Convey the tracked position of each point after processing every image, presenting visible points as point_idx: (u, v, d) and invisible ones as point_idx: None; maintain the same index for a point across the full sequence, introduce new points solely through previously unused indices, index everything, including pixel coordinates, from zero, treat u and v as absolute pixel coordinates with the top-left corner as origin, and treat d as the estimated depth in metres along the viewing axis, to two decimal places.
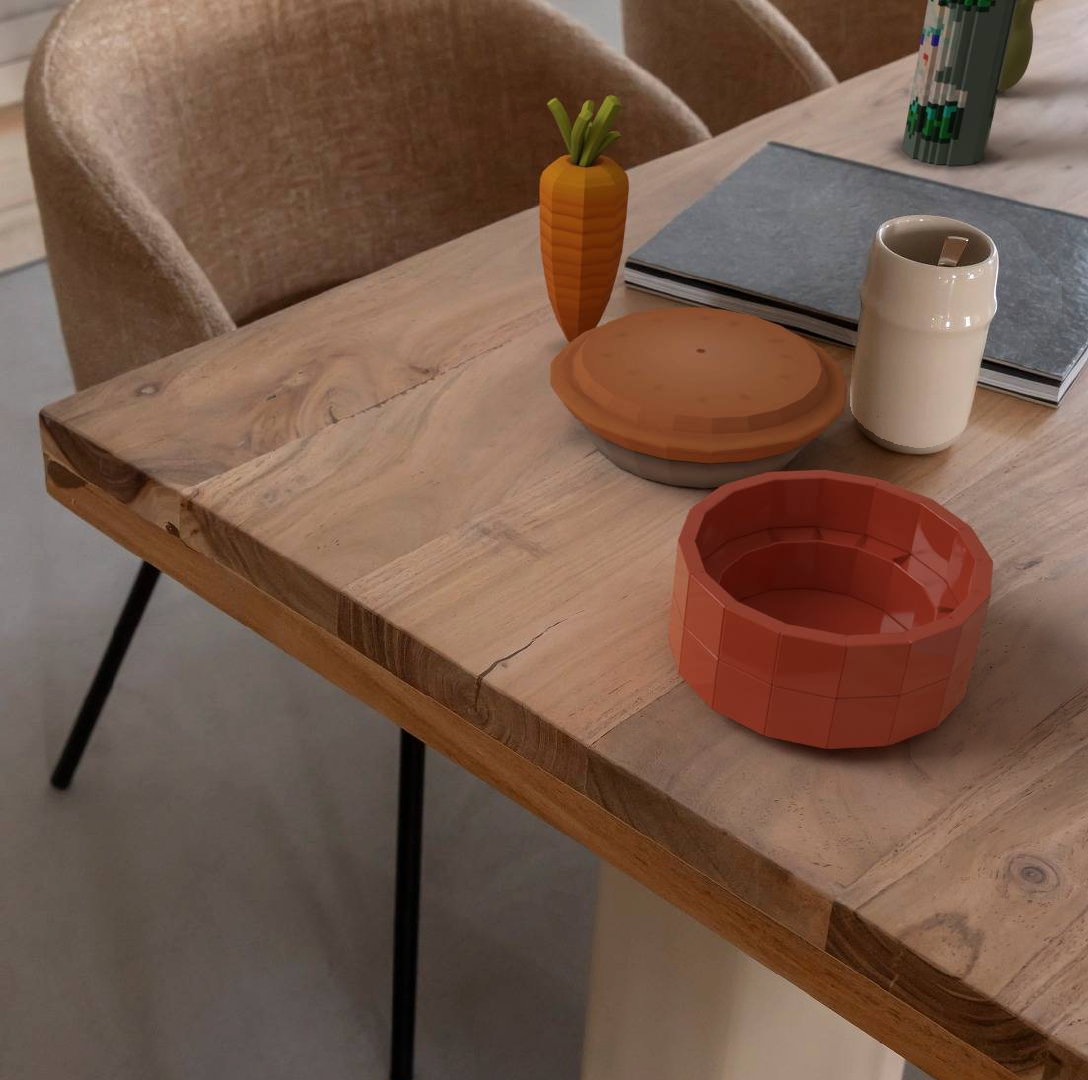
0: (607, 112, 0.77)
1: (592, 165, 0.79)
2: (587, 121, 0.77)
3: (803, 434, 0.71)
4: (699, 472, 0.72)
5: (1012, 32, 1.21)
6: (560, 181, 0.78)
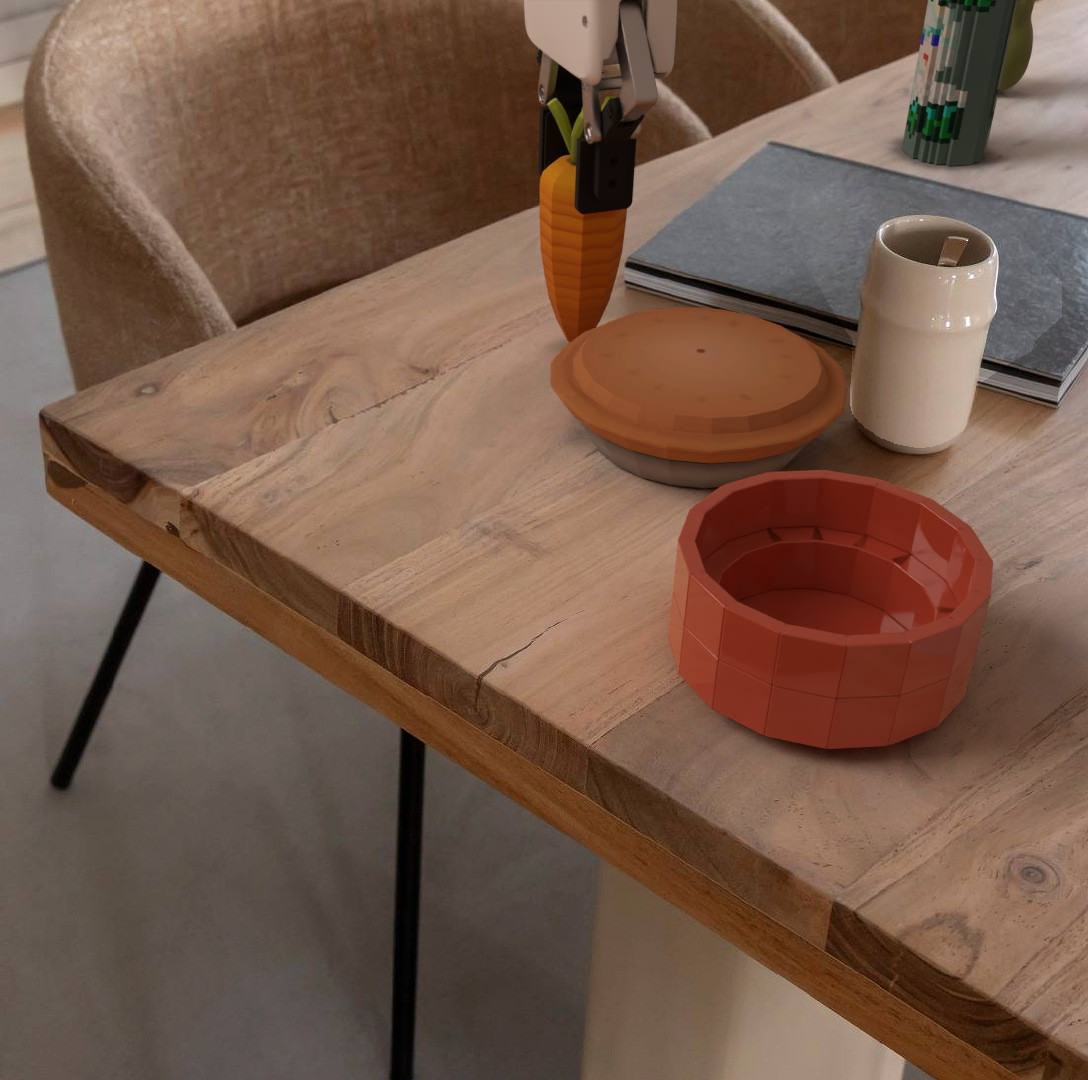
0: None
1: None
2: None
3: (803, 434, 0.71)
4: (699, 472, 0.72)
5: (1012, 32, 1.21)
6: (560, 181, 0.78)
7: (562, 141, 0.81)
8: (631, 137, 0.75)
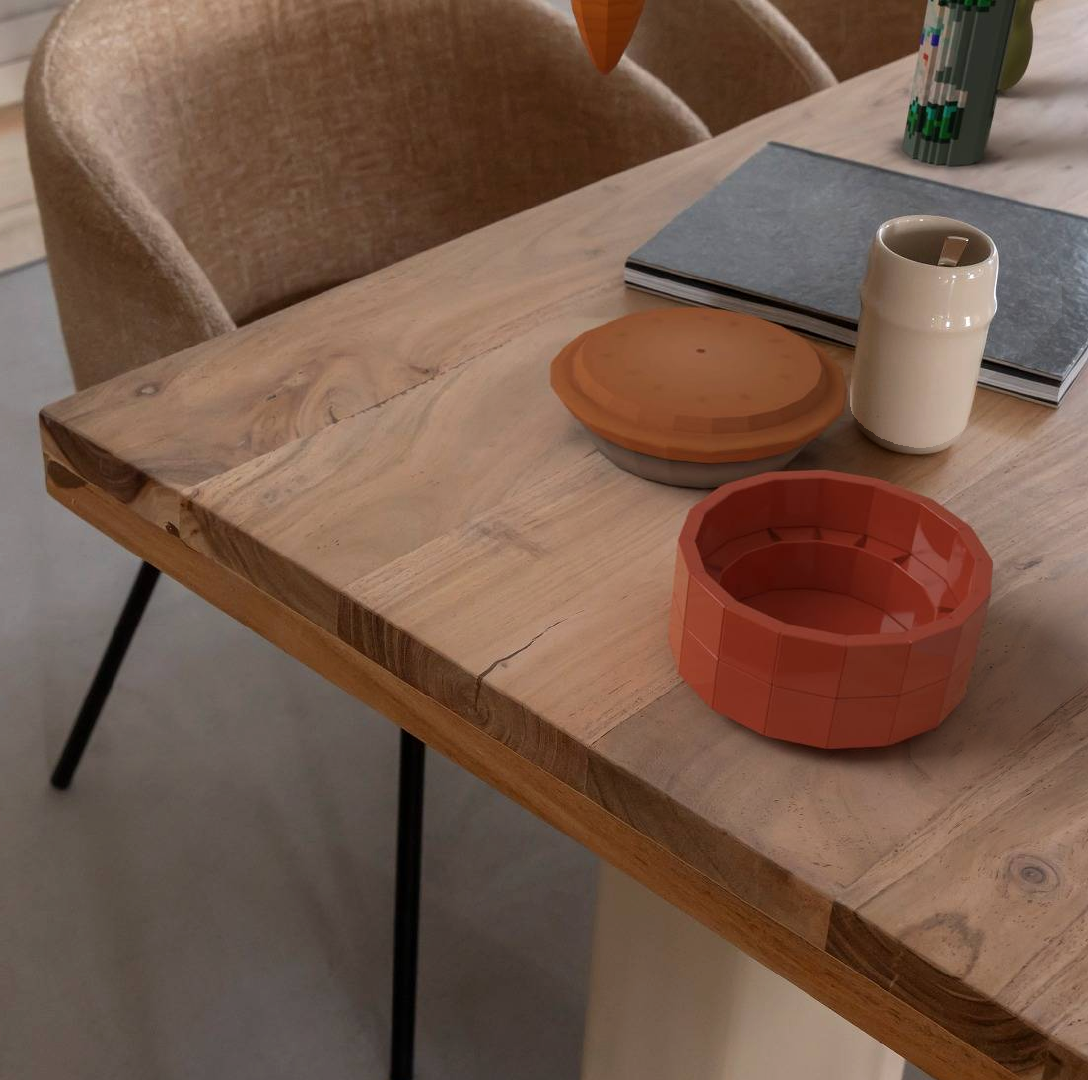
0: None
1: None
2: None
3: (803, 434, 0.71)
4: (699, 472, 0.72)
5: (1012, 32, 1.21)
6: None
7: None
8: None
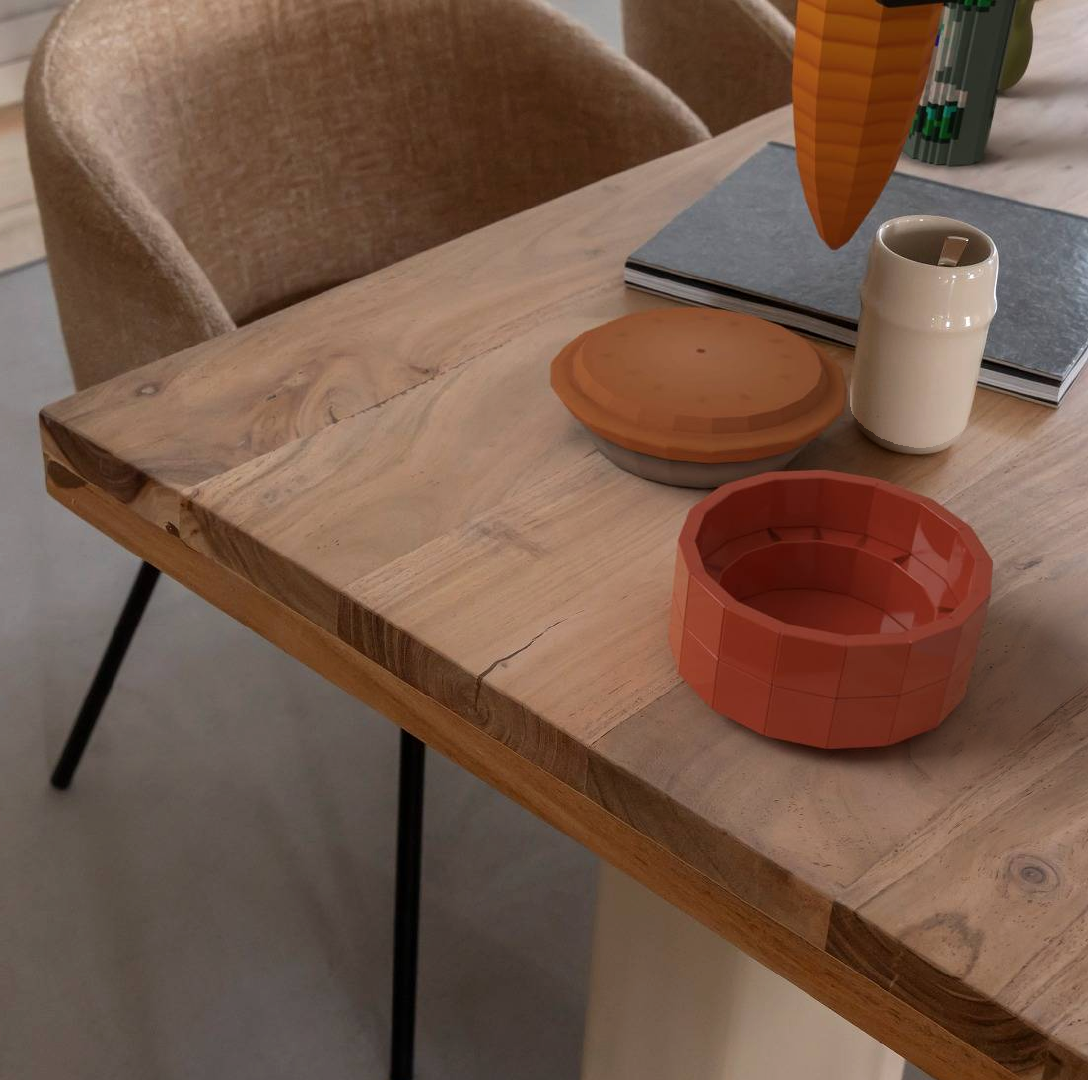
0: None
1: None
2: None
3: (803, 434, 0.71)
4: (699, 472, 0.72)
5: (1012, 32, 1.21)
6: None
7: None
8: None
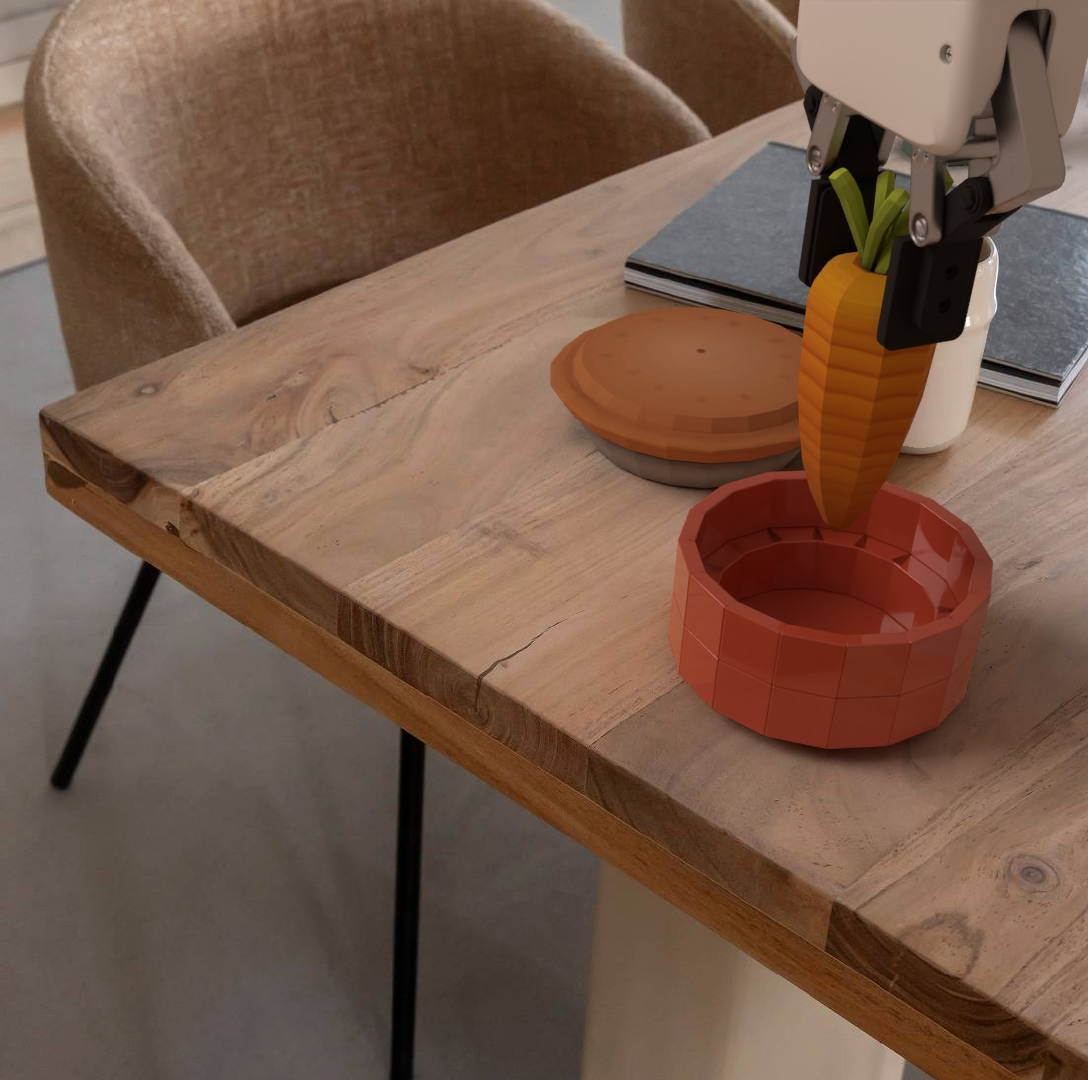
0: None
1: None
2: (902, 208, 0.49)
3: None
4: (699, 472, 0.72)
5: None
6: (849, 297, 0.50)
7: (841, 231, 0.53)
8: (984, 235, 0.47)
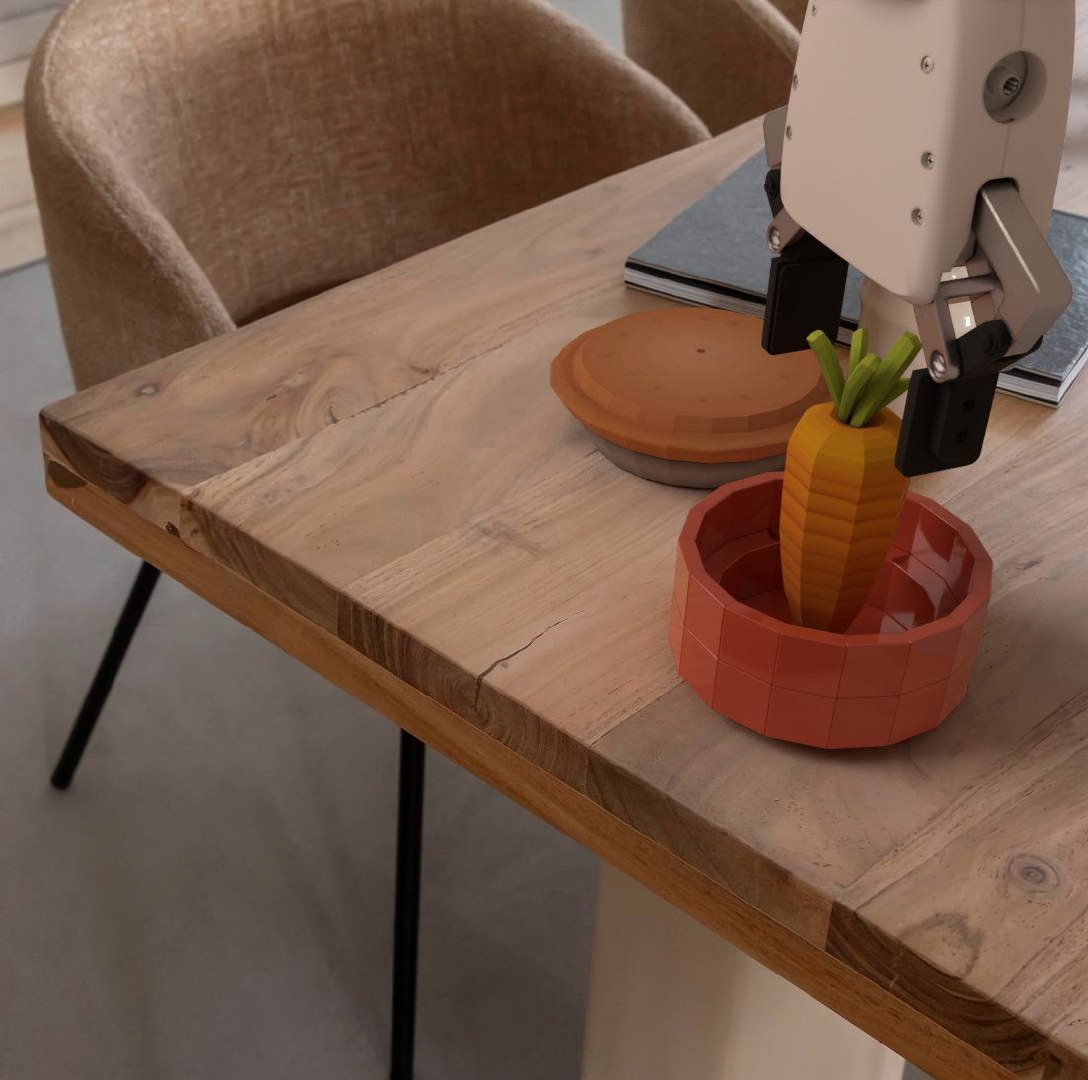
0: (902, 357, 0.53)
1: (868, 423, 0.55)
2: (874, 371, 0.52)
3: None
4: (699, 472, 0.72)
5: None
6: (826, 450, 0.54)
7: (800, 304, 0.57)
8: None
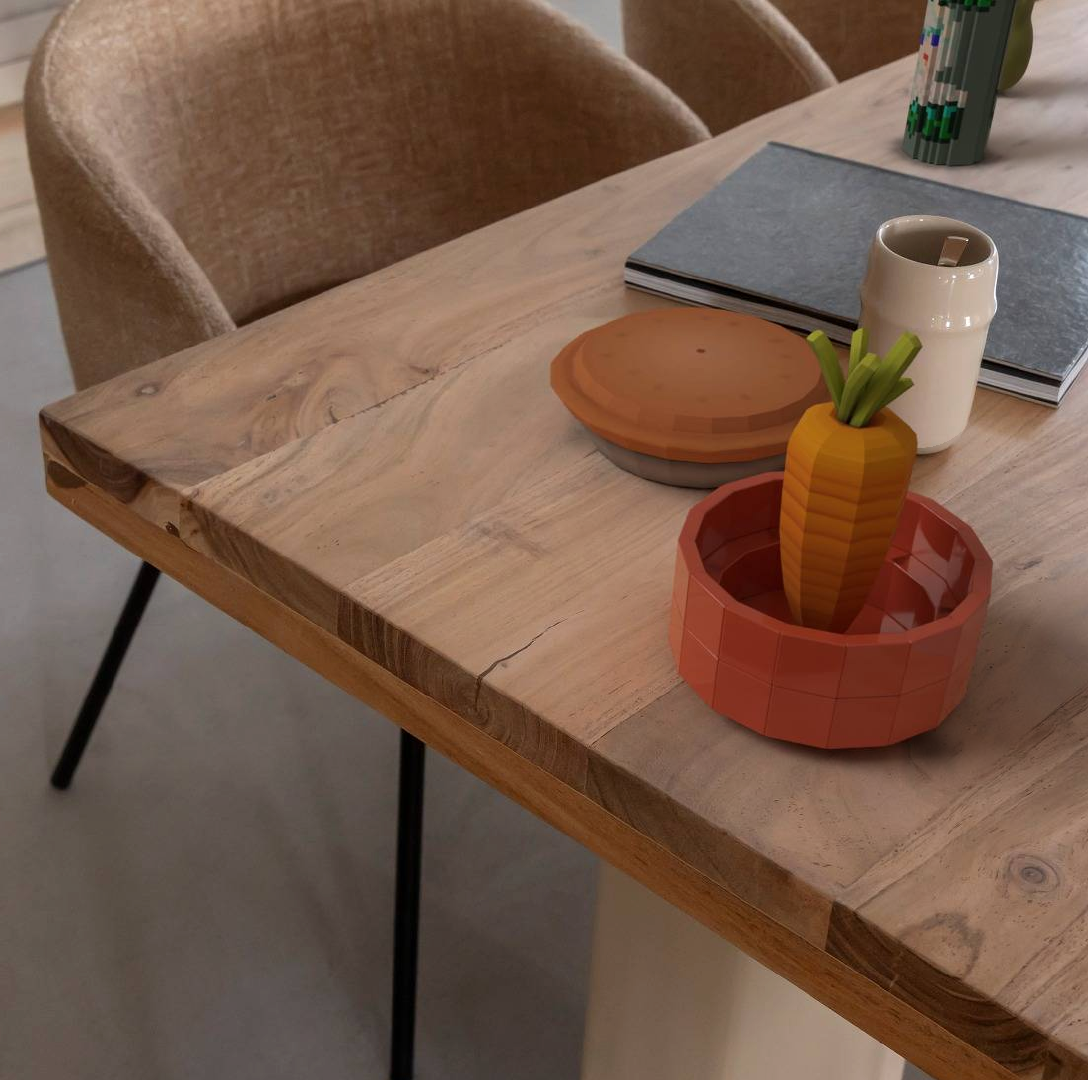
0: (902, 357, 0.53)
1: (868, 423, 0.55)
2: (874, 371, 0.52)
3: None
4: (699, 472, 0.72)
5: (1012, 32, 1.21)
6: (826, 450, 0.54)
7: None
8: None
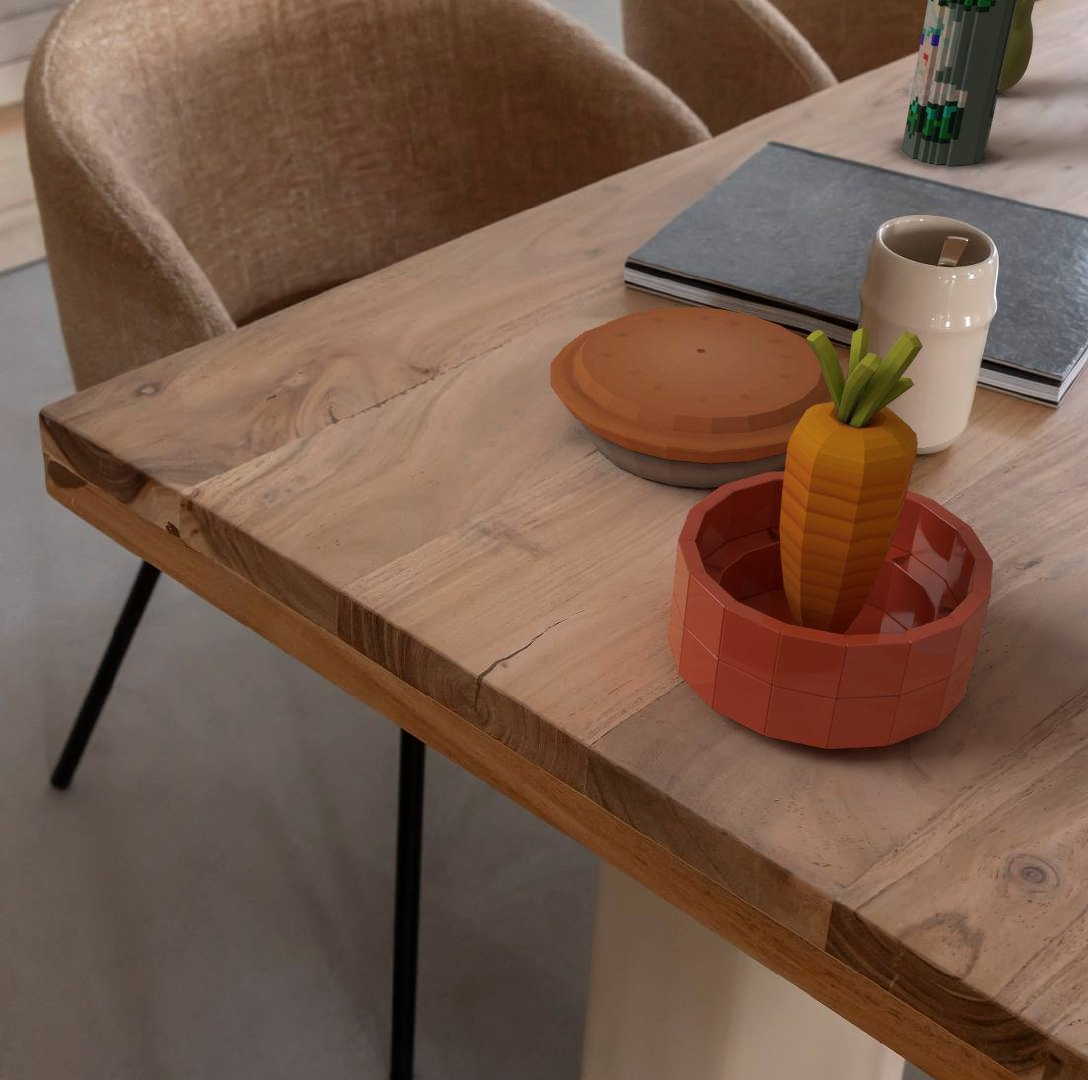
0: (902, 357, 0.53)
1: (868, 423, 0.55)
2: (874, 371, 0.52)
3: None
4: (699, 472, 0.72)
5: (1012, 32, 1.21)
6: (826, 450, 0.54)
7: None
8: None
